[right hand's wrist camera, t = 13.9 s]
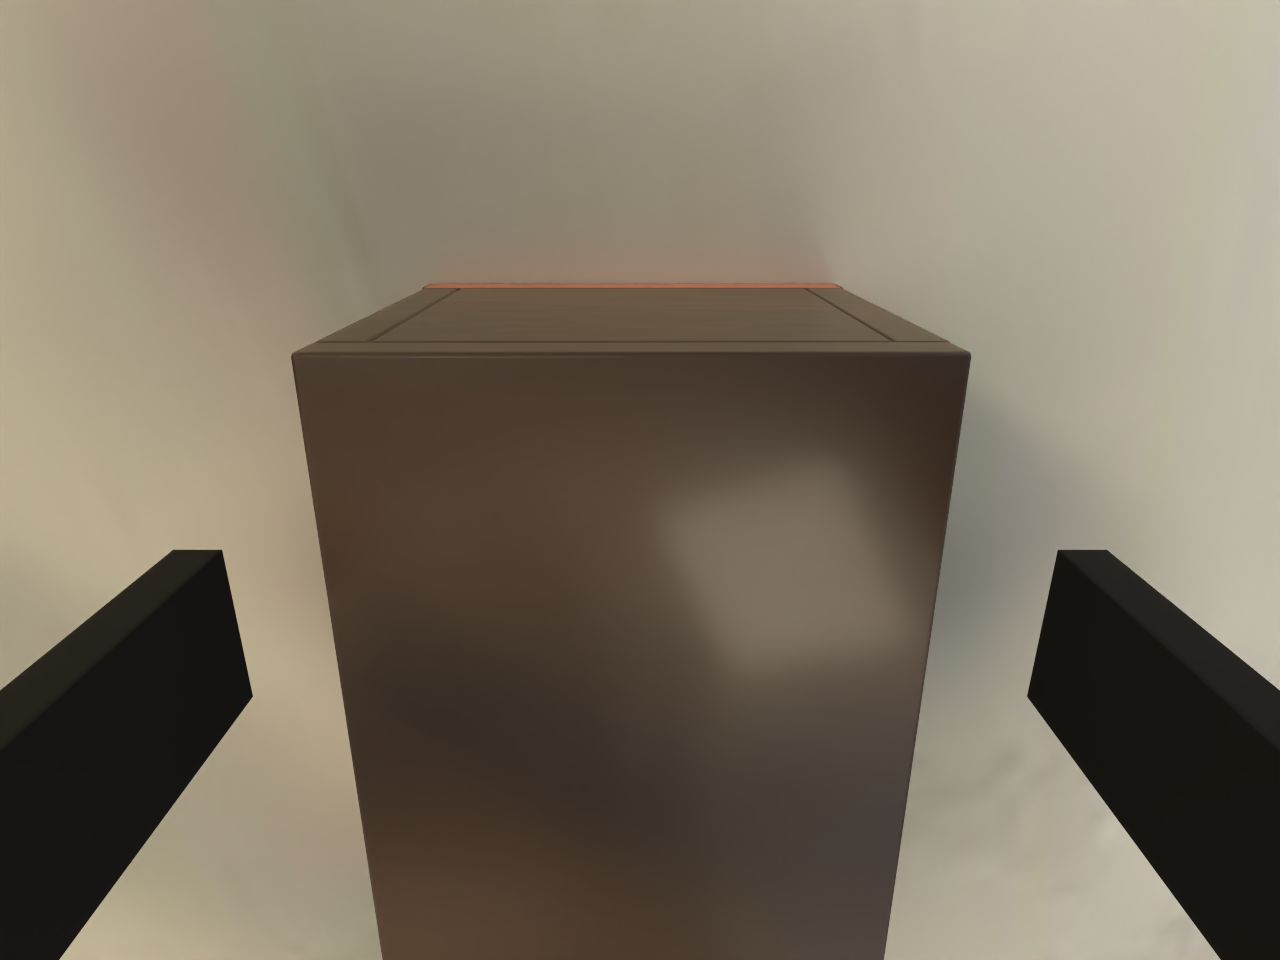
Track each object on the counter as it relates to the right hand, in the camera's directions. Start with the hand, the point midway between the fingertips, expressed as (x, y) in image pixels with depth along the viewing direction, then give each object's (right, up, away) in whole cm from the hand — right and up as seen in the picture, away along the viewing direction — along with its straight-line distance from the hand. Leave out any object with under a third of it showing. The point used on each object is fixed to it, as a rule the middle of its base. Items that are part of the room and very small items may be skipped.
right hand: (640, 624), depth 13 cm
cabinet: (0, -1, +13) cm, 13 cm away
